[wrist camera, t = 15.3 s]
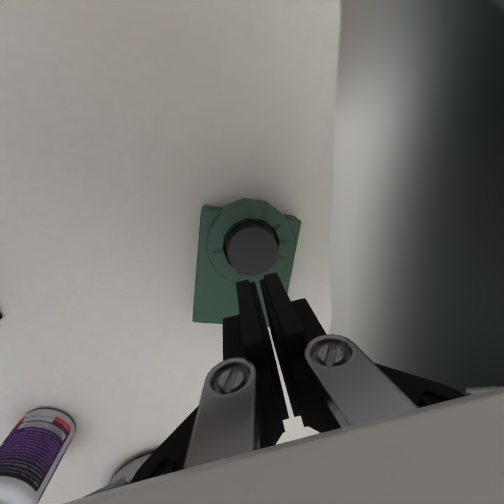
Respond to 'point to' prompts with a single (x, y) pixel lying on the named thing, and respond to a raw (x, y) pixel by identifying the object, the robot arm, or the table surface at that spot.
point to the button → (252, 248)
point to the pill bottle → (33, 455)
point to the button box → (219, 267)
